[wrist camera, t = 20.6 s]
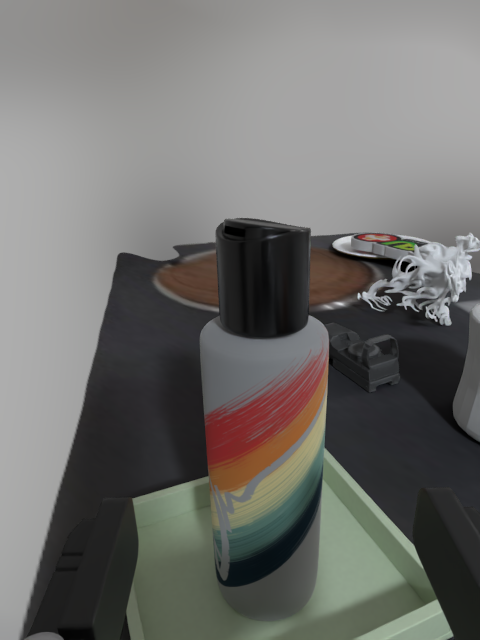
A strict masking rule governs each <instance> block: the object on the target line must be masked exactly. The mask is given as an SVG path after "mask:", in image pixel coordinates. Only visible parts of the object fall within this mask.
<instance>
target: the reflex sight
mask: <svg viewBox="0 0 480 640" xmlns="http://www.w3.org/2000/svg"><path fill="white" fill-rule="evenodd" d="M324 326H325V328H326V329H327V331H328V336H329V358H331V359H333V367H335V368H336V369H337V370H339V371H340V372H342V373H343V374H344V375H346V376H347V377H349V378H350V379H351V380H353V381H354V382H356V383H357V384H358V385H360V386H361V387H363V388H364V389H365V390H367V391H368V392H372V391H375V390H376V387H377V386H378V385H381V384H384V383H387V382H388V383H390V384H391V385H393V384H396V383H399V379H400V375H399V373H398V372H399V363H398V361H397V360H398V355H399V349H398V344H397V341H396V338H394V337H392V336H390V335H387V334H385V335H382V336H378V337H375V338H371V339H368V340H367V341H366V342H364V341H363V340H361V339H360V338H359V336H358V334H357V333H355V332H353V331H351V330H349V329H347V328H345V327H343V326H341V325H338V324H336V323H331V324H327V325H324ZM387 339H390V343H391V350H390V354H387V355H383V354H382V353H380V351H381V349H380V348H379V347H378V346H377V345H374V343H377V342H381V341H384V340H387Z"/></svg>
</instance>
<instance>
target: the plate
mask: <svg viewBox="0 0 480 640" xmlns="http://www.w3.org/2000/svg"><path fill="white" fill-rule="evenodd" d="M398 236H401V237H403V238H404V239H414V240H418V241H422V242H427V243H431V242H430V241H427V240H424V239H419V238H415V237H409V236H402V235H398ZM351 237H352V236H347V237H343V238H340V239H338V240H336V241H334V242H333V244H332V246H333V248H334V249H335V250H337V251H339V252H341V253H344V254H347V255H352V256H356V257H362V258H368V259H379V260H396V259H392V258H389V257H385V256H382V255H378V254H375V253H373V252H367V251H361V250H357V249H354V248H352V247H351Z"/></svg>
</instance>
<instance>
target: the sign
mask: <svg viewBox="0 0 480 640" xmlns="http://www.w3.org/2000/svg"><path fill="white" fill-rule="evenodd" d="M415 244H416V245H417V246H418V248H419V247H421V246H423V245H427V244H429V243H427V242H422V241H418V240H414V239H404V238H403V237H401V236H398V235H393V234H385V233H361V234H355V235H353V236H352V237H351V247H352V248H354V249H357V250H361V251H367V252H373V253H375V254H378V255H382V256H385V257H389V258H392V259H396V260H397V259H398V258H399V257H400V256H401V257H400V259H399V260H401V259H402V258H403V257H404V256H407V255H411V256H414V246H415ZM446 248H449V247H446ZM403 261H407V262H409V263H412V261H411V259H404V260H403Z"/></svg>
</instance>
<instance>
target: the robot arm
mask: <svg viewBox="0 0 480 640" xmlns="http://www.w3.org/2000/svg"><path fill="white" fill-rule="evenodd" d="M413 540H414V545H415V549H416V552H417V554H418V557H419V559H420V561H421V563H422V566H423V568H424V570H425V572H426V575H427V577H428V579H429V581H430V584H431V586H432V588H433V590H434V593H435V595H436V597H437V600H438V602H439V604H440V606H441V609H442V611H443V613H444V615H445V618H446V620H447V622H448V624H449V627H450V629H451V631H452V633H453V636H454V638H455V640H480V513H479V512H478V511H477V510H476V509H475V508H473V507H463V506H462V505H461V503H460V501H459V500H458V498H457V497H456V495H455V493H454V492H453V490H452V489H450V488H449V487H441V488H421V489H420V490H419V494H418V500H417V506H416V512H415V518H414V525H413ZM138 549H139V539H138V531H137V525H136V518H135V511H134V505H133V500H132V498H131V497H116V498H104V499H103V500H102V502H101V505H100V508H99V511H98V513H97V516H96V518H95V519H82V521H81V522H80V523H79V524H78V525H77V526H76V527H75V529H74V530H73V531H72V532H71V533H70V534H69V536H68V539H67V541H66V543H65V546H64V548H63V551H62V556H61V557H60V558H59V561H58V563H57V566H56V570H55V572H54V573H53V576H52V578H51V580H50V583H49V585H48V588H47V590H46V593H45V595H44V598H43V600H42V603H41V605H40V608H39V610H38V613H37V615H36V617H35V620H34V622H33V625H32V627H31V630H30V632H29V634H28V635H27V637H26V638H25V639H24V640H120V637H121V632H122V628H123V623H124V619H125V614H126V610H127V605H128V601H129V596H130V592H131V587H132V583H133V578H134V574H135V569H136V564H137V559H138Z"/></svg>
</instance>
